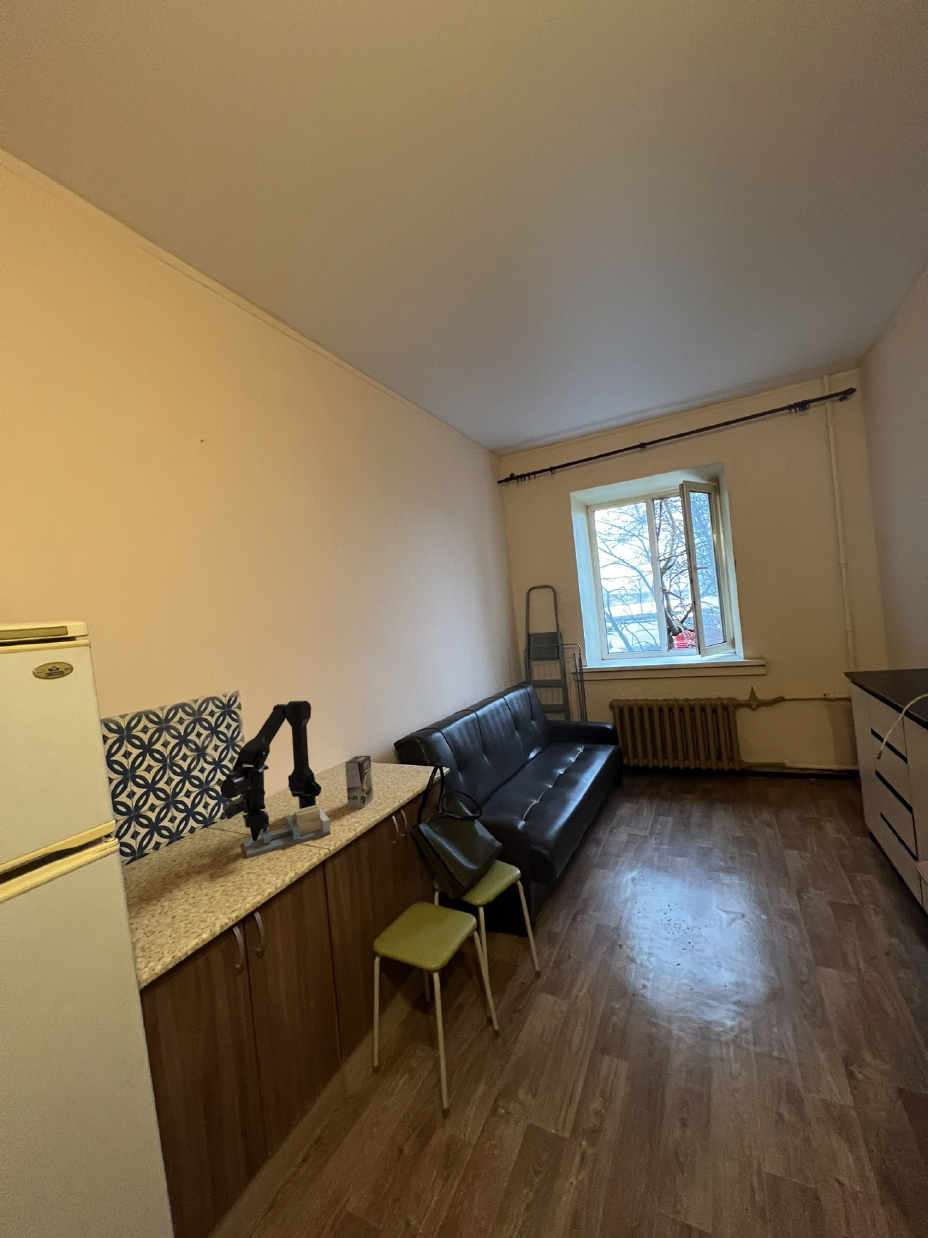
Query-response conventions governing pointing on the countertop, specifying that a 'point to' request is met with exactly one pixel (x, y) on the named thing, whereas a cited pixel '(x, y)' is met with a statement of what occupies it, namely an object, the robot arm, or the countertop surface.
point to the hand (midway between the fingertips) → (254, 840)
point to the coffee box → (359, 781)
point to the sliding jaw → (292, 829)
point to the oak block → (308, 819)
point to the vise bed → (285, 839)
